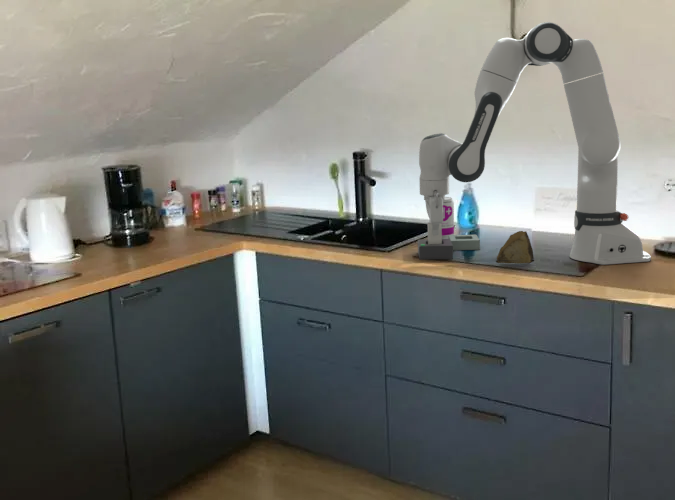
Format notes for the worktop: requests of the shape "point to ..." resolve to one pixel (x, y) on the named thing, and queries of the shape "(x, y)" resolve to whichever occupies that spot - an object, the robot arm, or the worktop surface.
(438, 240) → the plug
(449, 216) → the supplement can
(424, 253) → the port
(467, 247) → the block
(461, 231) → the worktop surface
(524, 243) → the rock
